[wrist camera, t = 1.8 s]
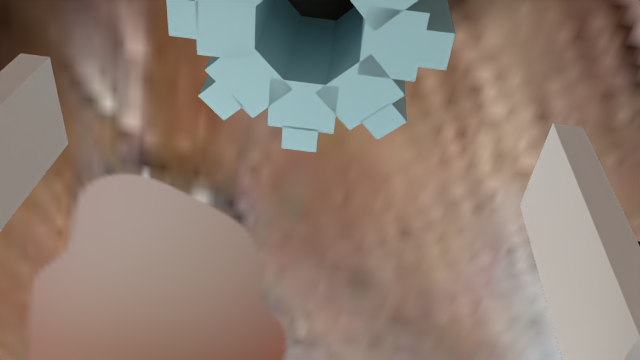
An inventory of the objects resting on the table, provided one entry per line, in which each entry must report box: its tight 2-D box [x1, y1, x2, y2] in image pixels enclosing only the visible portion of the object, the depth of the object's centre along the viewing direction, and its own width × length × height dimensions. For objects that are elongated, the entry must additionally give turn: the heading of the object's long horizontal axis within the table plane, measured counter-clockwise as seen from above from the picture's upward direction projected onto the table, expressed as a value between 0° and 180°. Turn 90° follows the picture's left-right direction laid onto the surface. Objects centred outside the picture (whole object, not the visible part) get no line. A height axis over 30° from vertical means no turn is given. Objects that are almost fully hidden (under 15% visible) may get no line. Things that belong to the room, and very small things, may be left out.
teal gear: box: [166, 0, 455, 152], centre depth 23 cm, size 10×10×6 cm
